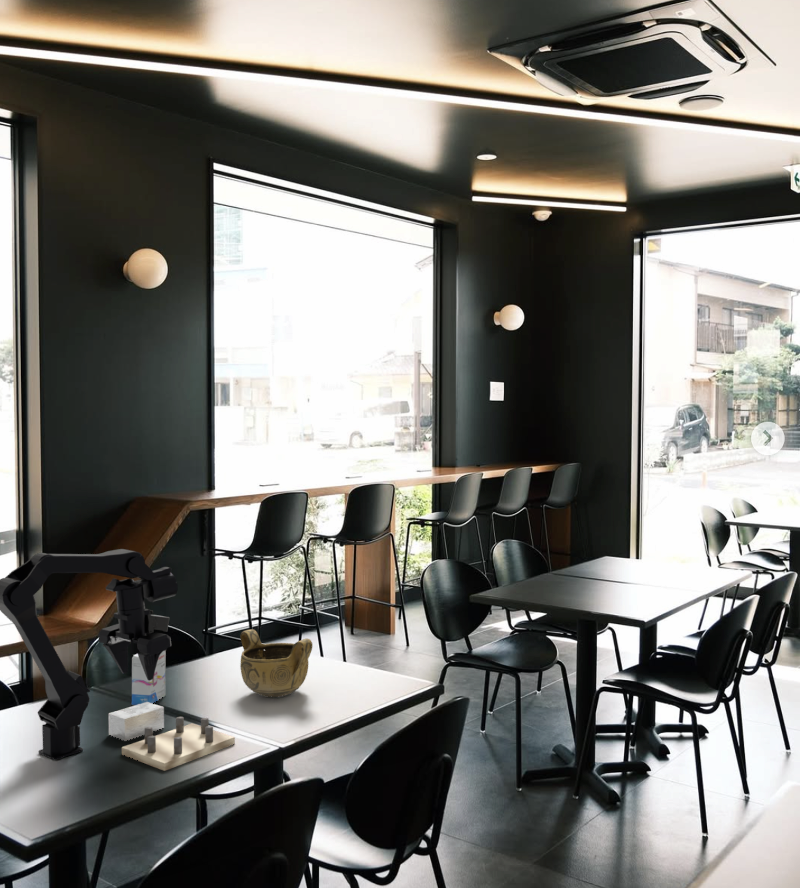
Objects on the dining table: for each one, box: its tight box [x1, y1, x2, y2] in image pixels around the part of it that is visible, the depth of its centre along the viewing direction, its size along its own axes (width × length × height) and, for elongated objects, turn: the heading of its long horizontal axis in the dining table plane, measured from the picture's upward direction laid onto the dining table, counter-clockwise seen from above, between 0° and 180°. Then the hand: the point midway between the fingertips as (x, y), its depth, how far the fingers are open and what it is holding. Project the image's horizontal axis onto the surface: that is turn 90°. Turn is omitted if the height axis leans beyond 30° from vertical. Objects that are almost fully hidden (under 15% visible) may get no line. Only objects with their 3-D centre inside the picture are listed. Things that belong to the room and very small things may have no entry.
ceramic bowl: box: [239, 629, 313, 699], centre depth 223 cm, size 22×17×15 cm
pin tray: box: [121, 716, 236, 772], centre depth 186 cm, size 18×14×4 cm
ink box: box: [131, 650, 167, 706], centre depth 218 cm, size 8×5×12 cm, turn 168°
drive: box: [108, 702, 165, 742], centre depth 197 cm, size 10×6×5 cm, turn 141°
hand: (137, 676), depth 197 cm, fingers open, 9 cm apart
